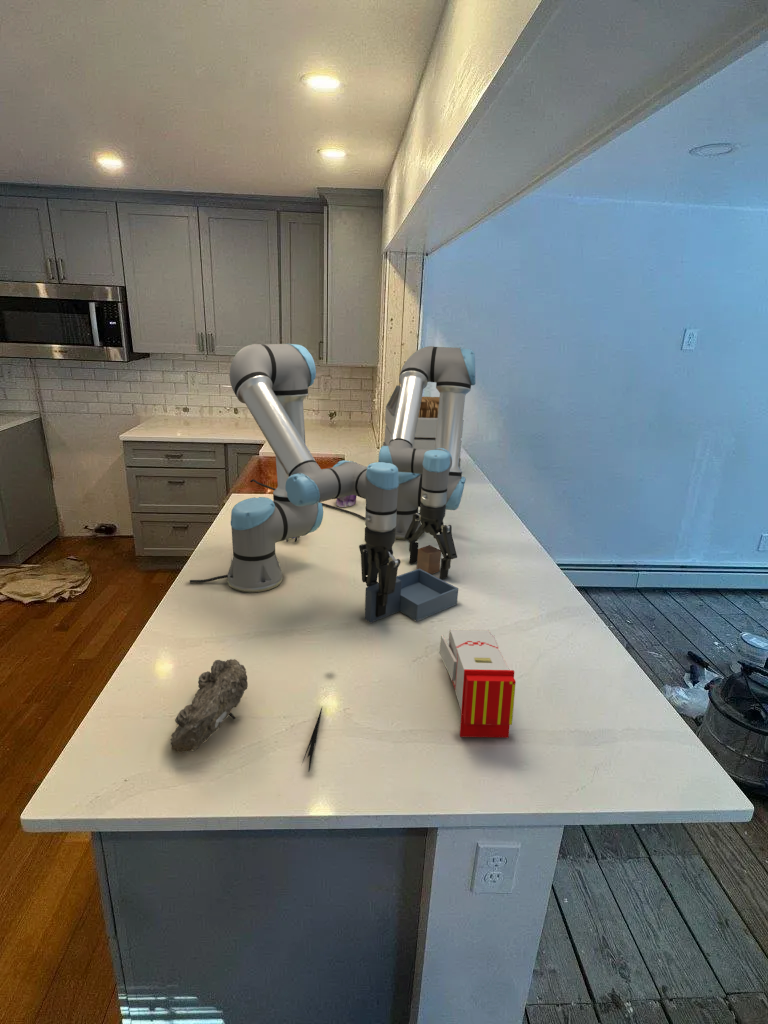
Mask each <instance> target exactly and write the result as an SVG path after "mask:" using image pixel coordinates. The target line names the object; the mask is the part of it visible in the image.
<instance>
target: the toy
mask: <svg viewBox="0 0 768 1024" xmlns="http://www.w3.org/2000/svg"><path fill="white" fill-rule="evenodd" d="M438 654H439V656H440V658H441V660H442V662H443V665H444V666H445V668H446V671H447V673H448V675H449V677H450V681H451V683H452V685H453V689H454V690H455V695H456V698H457V702H458V705H459V708H460V726H459V737H460V738H509V737H510V728H511V727H510V726H512V725H513V717H514V706H515V705H514V704H515V693H516V684H517V683H516V679H515V670H514V669H510V667H509V666H508V663H507V662H506V660H505V658H504V655H503V654H502V652H501V650H500V648H499V644H498V642H497V638H496V635H495V634H492V632H491V631H490V629H467V628H466V629H465V628H463V629H461V628H460V629H459V628H450V629H449V631H448V641H447V639H446V638H445V636H444V634H443V635H442V634H441V635H440V641H439V651H438Z"/></svg>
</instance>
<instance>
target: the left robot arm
mask: <svg viewBox="0 0 768 1024" xmlns="http://www.w3.org/2000/svg"><path fill="white" fill-rule="evenodd" d="M316 376H317V368H316V364H315V360H314V358H313V356H312V354H311V352H309V350H308V349H307V348H306V347H305V346H303V345H302V344H295V343H288V342H287V343H270V344H269V343H261V344H260V343H253V344H249V345H245V346H244V347H242V348H240V350H238V351H237V353H236V354H235V355H234V357H233V359H232V360H231V363H230V367H229V382H230V386H231V389H232V392H233V393H234V394H235V397H236V399H237V400H238V402H240V403H241V404H245V406H246V407H247V410H249V413H250V414H251V416H252V418H253V420H254V421H255V423H256V424H257V426H258V428H259V430H260V431H261V433H262V434H263V436H264V438H265V439H266V442H267V443H268V445H269V447H270V448H271V450H272V451H273V453H274V455H275V465H276V466H275V468H276V480H277V487H276V488H275V490H272V491H273V492H272V497H273V498H269V497H264V496H258V497H249V498H246V499H243V500H241V501H239V502H236V504H235V505H234V506H233V507H232V509H231V512H230V527H231V543H232V544H231V545H232V558H231V559H232V560H231V562H230V565H229V569H228V572H227V574H224V575H218V576H215V577H210V578H205V579H190V580H189V584H202V583H209V582H214V581H218V580H222V579H227V585H228V586H229V587H230V588H231V589H233V590H236V591H238V592H242V593H261V592H266V591H269V590H273V589H275V588H277V587H278V586H280V584H282V582H283V571H282V567H281V564H280V563H281V562H280V560H279V559H278V558H277V554H276V543H279V542H283V541H286V540H287V539H289V540H290V539H292V538H293V539H295V538H294V537H298V536H300V537H303V536H307V535H309V534H312V533H314V532H316V531H317V530H318V529H319V528H320V526H321V525H322V522H323V520H324V506H323V505H322V503H323V502H327V501H331V500H337V498H341V497H345V496H350V495H356V497H359V498H361V499H364V500H365V506H364V507H365V516H364V517H365V520H364V525H365V527H364V542H365V543H363V544H359V545H358V549H359V552H360V568H361V581H362V583H365V586H366V587H369V586H372V585H375V584H378V583H379V592H377V596H376V617H379V616H382V615H384V614H386V605H387V599H388V594H391V593H394V590H395V584H396V577H397V576H398V570H399V567H400V565H401V563H402V562H401V559H400V558H395V556H394V549H393V546H394V544H395V543H396V540H395V535H396V529H395V527H396V517H397V496H398V486H399V480H398V468H397V467H396V466H395V465H394V464H391V463H385V462H379V461H376V462H371V463H369V464H368V465H367V466H365V465H362V464H359V463H358V462H356V461H353V460H352V461H351V460H344V459H343V460H339V461H337V463H335V464H334V465H333V466H332V467H327V468H321V467H320V465H319V464H318V463H317V461H316V459H315V458H314V456H313V454H312V453H311V451H310V448H308V446H307V444H306V430H305V428H306V426H305V411H304V400H305V399H306V398H307V396H308V395H309V387H311V386H312V385H313V384H314V382H315V380H316ZM272 499H273V500H272ZM320 502H321V503H320Z"/></svg>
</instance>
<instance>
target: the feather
mask: <svg viewBox="0 0 768 1024" xmlns="http://www.w3.org/2000/svg"><path fill="white" fill-rule="evenodd" d="M329 675H330V676H331V675H332V674H331V673H330V674H329ZM322 710H323V707H321V708H320V710H319V713H318V716H317V719H316V723H315V725H314V728H313V731H312V733H311V737H310V739H309V742H308V745H307V748H306V751H305V754H304V757H303V760H302V763H301V767H302V765H303V763H304V761H305V758H308V759H309V760H308V762H307V763H308V764H307V766H308V771H310V770H311V766H312V765H311V764H312V760H313V757H315V756H314V755H315V751H316V749H315V746H317V739H318V733H319V729H320V722H321V717H322V712H323V711H322ZM313 754H314V755H313ZM306 755H307V757H306Z"/></svg>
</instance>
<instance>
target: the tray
mask: <svg viewBox="0 0 768 1024" xmlns="http://www.w3.org/2000/svg"><path fill="white" fill-rule="evenodd" d="M377 592H379V582H378V584H375V585H372V586H369V587H367V586H366V587H365V593H364V595H365V597H364V620H365V621H367V622H368V623H370V624H371V623H374V622H377V621H379V620H381V619H384V618H387V617H389V616H391V615H394V614H396V613H399V612H400V613H402V614H404V615H405V616H407V617H409V618H410V619H412V620H413V621H415V622H418V621H419V622H420V621H422V620H423V619H425V618H428V617H431V616H432V615H435V614H437V613H439V612H442V611H445V610H447V609H449V608H451V607H453V606H456V605H458V597H459V588H458V587H456V586H455V585H453V584H451V583H449V582H447V581H445V580H444V579H440V577H437V576H436V575H433V574H429V573H427V572H425V571H423V570H421V569H417V568H416V569H414V570H411V571H407V572H404V573H402V574H399V575H397V577H396V584H395V590H394V593H391V594H388V599H387V605H386V614H384V615H382V616H379V617H376V596H377Z"/></svg>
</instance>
